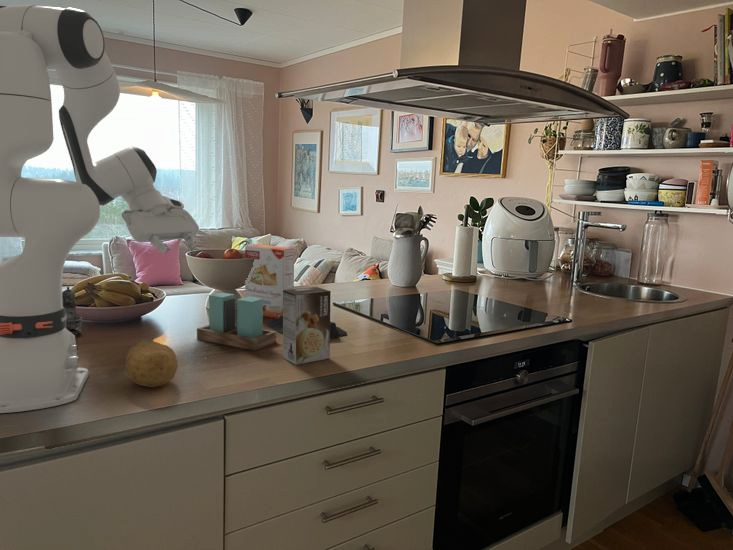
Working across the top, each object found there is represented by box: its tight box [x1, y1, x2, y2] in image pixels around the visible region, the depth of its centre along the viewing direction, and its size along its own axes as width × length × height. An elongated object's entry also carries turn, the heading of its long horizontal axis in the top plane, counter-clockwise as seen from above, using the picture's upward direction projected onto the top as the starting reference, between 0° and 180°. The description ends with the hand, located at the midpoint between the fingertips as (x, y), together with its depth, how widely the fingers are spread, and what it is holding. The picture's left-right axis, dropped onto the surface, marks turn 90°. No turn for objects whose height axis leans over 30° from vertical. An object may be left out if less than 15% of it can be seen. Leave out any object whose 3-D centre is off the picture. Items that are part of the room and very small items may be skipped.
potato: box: [124, 340, 178, 388], centre depth 108 cm, size 10×14×8 cm
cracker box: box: [244, 243, 295, 319], centre depth 165 cm, size 14×6×21 cm, turn 64°
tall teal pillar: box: [208, 292, 236, 333], centre depth 140 cm, size 5×4×10 cm
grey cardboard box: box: [282, 286, 332, 366], centre depth 126 cm, size 9×6×16 cm
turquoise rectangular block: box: [235, 296, 264, 338], centre depth 137 cm, size 5×4×10 cm
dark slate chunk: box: [265, 316, 348, 340], centre depth 151 cm, size 15×22×5 cm
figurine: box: [62, 286, 83, 335], centre depth 140 cm, size 6×6×12 cm
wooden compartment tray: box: [196, 323, 277, 352], centre depth 139 cm, size 18×9×3 cm, turn 64°
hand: (180, 249), depth 143 cm, fingers open, 8 cm apart
